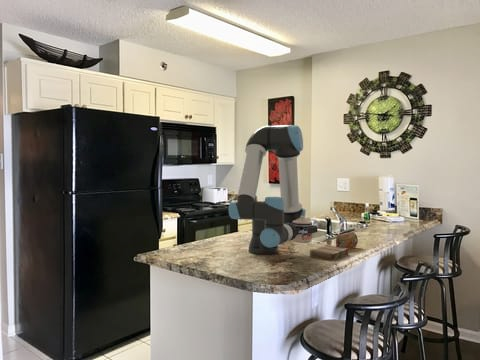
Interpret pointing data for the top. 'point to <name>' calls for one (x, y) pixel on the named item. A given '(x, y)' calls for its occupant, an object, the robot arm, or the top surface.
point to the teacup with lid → (301, 237)
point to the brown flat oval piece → (347, 240)
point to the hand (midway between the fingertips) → (307, 225)
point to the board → (328, 252)
